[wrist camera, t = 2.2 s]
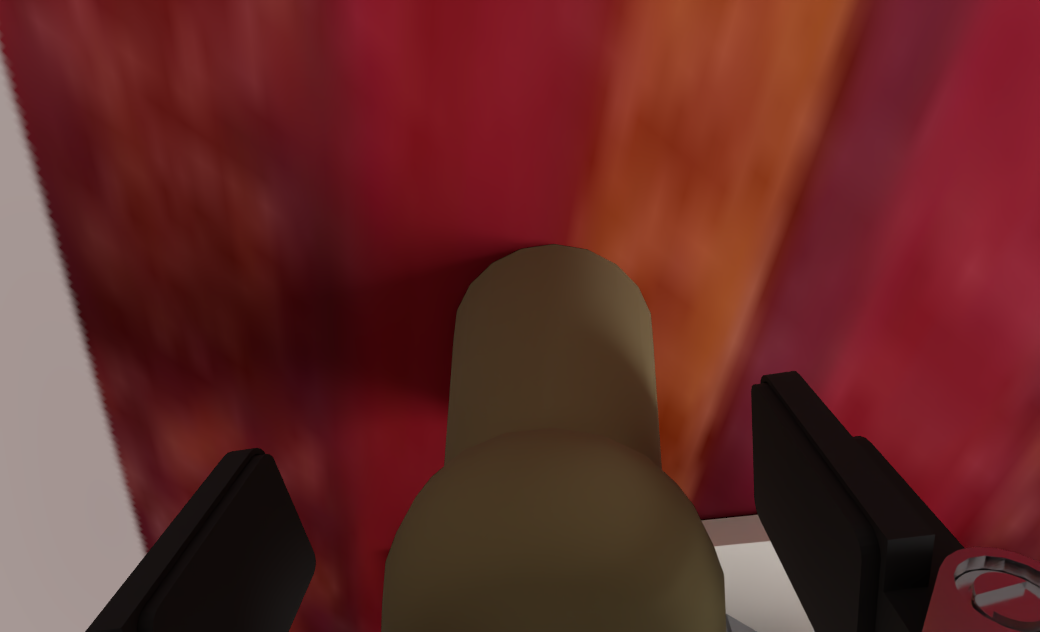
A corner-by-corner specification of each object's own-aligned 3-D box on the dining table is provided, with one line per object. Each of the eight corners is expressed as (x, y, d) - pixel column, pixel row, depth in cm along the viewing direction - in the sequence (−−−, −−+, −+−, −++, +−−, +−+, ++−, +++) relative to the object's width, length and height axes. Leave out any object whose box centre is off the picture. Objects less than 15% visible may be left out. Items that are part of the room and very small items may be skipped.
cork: (530, 455, 19) (504, 882, 9) (412, 318, 17) (220, 655, 7) (691, 363, 18) (878, 757, 7) (579, 201, 16) (624, 429, 6)
